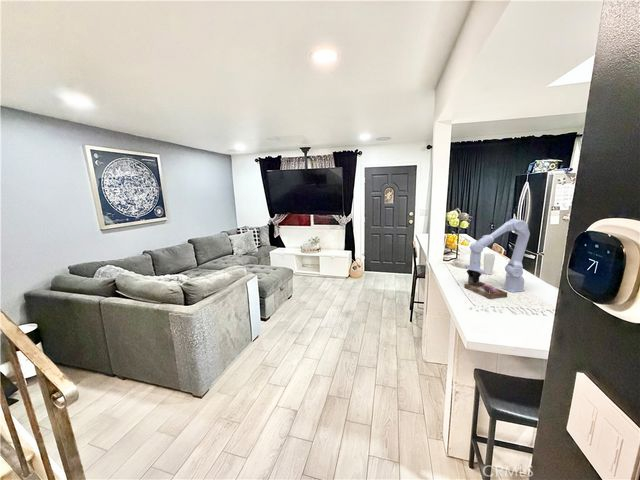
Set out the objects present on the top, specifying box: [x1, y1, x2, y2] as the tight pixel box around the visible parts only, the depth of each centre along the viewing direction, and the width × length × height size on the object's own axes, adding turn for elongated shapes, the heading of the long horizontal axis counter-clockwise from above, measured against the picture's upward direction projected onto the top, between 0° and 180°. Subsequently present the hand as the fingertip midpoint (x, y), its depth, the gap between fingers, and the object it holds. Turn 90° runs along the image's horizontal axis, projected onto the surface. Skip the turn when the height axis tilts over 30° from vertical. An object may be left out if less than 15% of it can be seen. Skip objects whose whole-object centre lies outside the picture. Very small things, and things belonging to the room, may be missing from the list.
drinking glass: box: [483, 252, 496, 275], centre depth 190 cm, size 7×7×15 cm
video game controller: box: [480, 283, 500, 294], centre depth 153 cm, size 10×5×7 cm, turn 12°
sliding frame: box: [464, 276, 508, 300], centre depth 157 cm, size 20×12×6 cm, turn 12°
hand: (473, 281), depth 166 cm, fingers open, 2 cm apart
